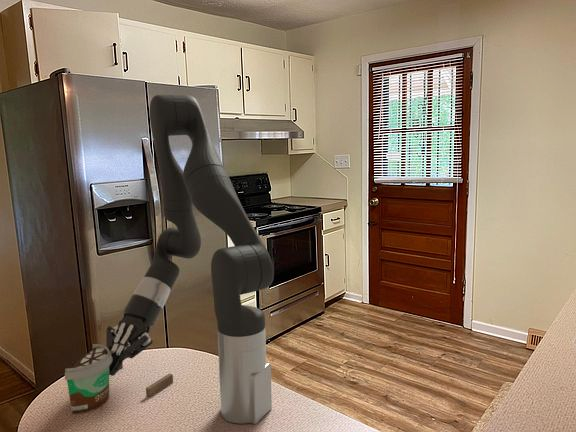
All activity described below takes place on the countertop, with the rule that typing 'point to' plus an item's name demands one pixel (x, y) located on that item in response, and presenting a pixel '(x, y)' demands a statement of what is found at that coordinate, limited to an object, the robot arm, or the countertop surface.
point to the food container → (89, 380)
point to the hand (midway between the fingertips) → (108, 373)
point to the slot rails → (157, 384)
